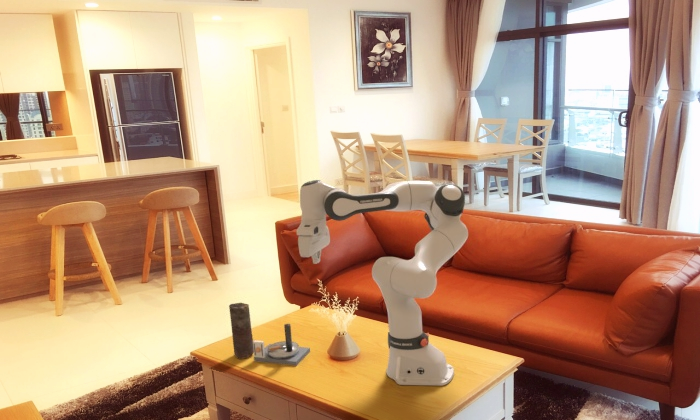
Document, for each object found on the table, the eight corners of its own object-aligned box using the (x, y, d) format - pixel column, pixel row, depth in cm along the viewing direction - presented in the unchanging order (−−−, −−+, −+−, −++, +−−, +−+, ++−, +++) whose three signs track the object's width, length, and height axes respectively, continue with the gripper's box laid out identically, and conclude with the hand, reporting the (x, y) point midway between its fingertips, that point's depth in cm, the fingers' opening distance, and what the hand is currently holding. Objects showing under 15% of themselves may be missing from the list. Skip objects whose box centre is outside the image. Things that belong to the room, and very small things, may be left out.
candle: (232, 353, 216) (227, 303, 213) (251, 349, 219) (246, 299, 216) (237, 361, 210) (231, 309, 206) (256, 356, 213) (251, 305, 209)
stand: (310, 351, 214) (308, 332, 212) (295, 366, 202) (293, 346, 201) (269, 347, 220) (268, 329, 218) (253, 362, 208) (251, 342, 206)
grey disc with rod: (298, 358, 205) (296, 326, 203) (266, 360, 205) (263, 328, 203) (299, 344, 217) (297, 314, 215) (269, 347, 216) (266, 317, 214)
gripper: (317, 219, 216) (319, 255, 219) (294, 231, 197) (297, 270, 200) (332, 219, 214) (335, 255, 216) (310, 232, 195) (313, 270, 198)
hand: (316, 262), depth 208 cm, fingers closed
